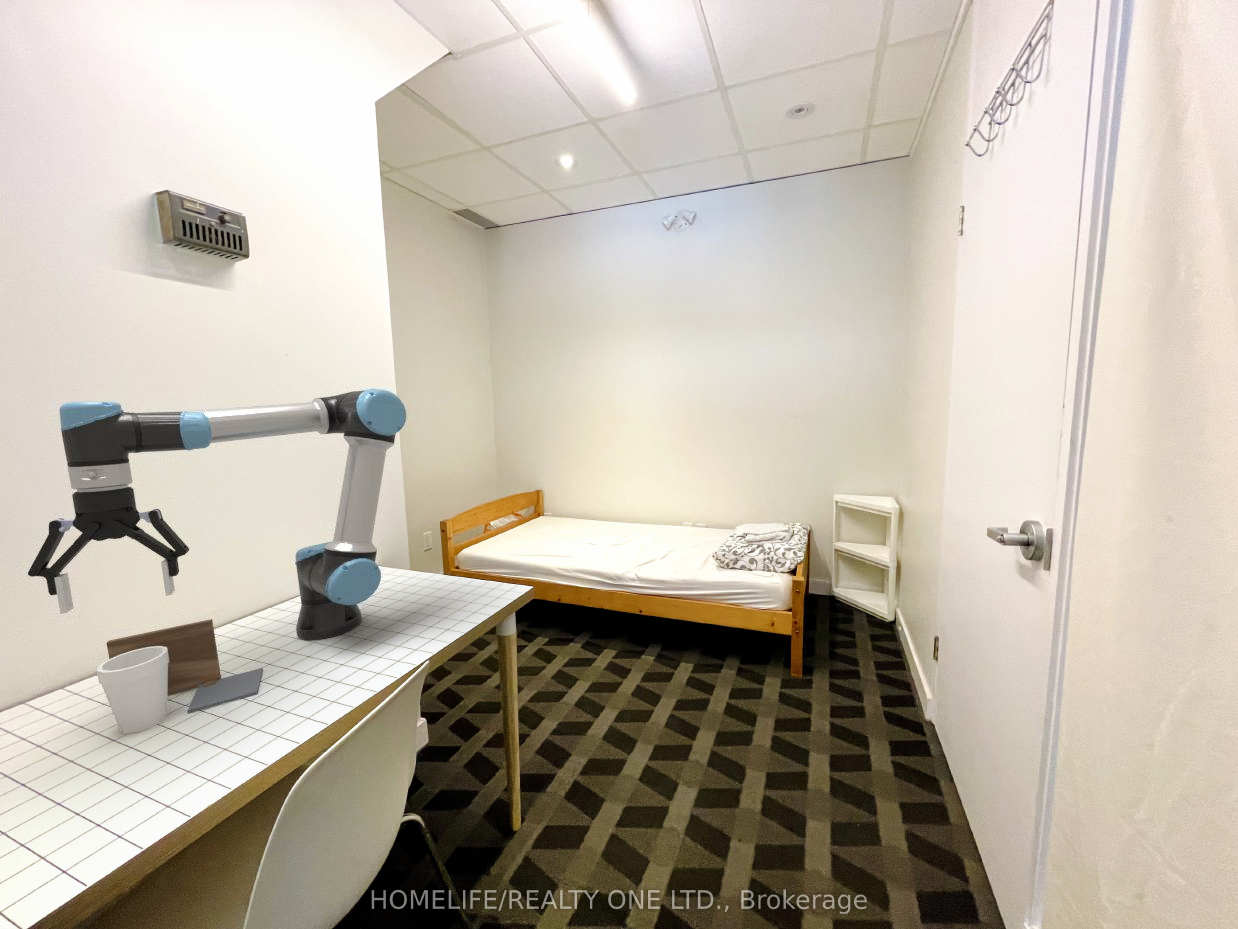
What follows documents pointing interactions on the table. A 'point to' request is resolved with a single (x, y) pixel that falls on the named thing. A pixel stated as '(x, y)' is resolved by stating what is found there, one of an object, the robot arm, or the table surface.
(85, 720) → the table surface
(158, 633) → the screen
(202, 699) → the mat
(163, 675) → the foam cup
